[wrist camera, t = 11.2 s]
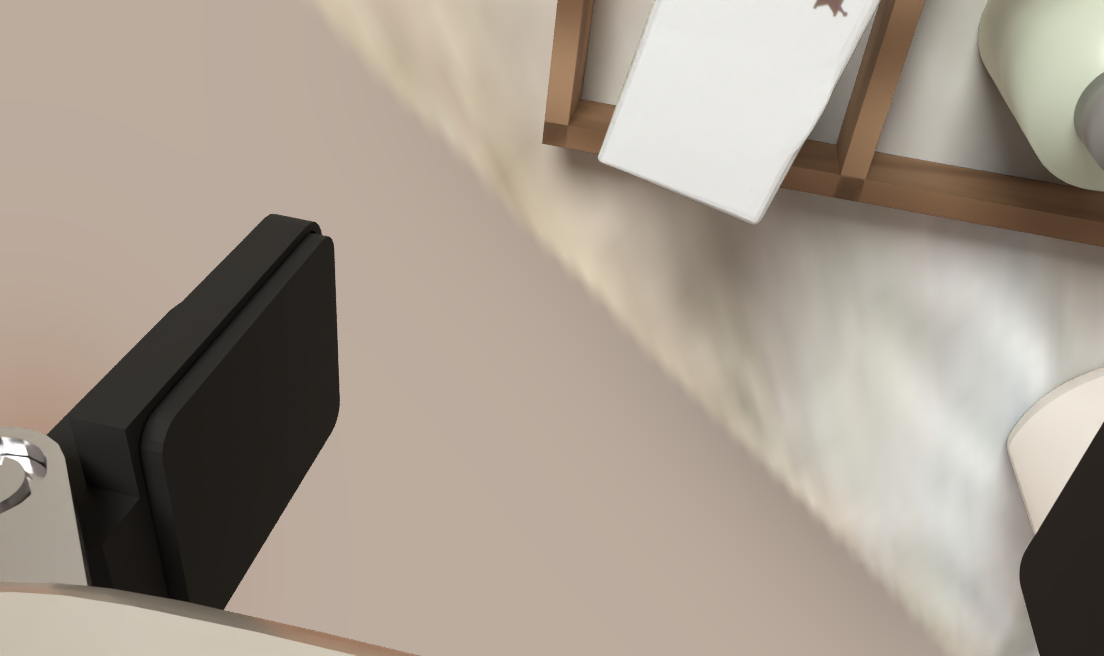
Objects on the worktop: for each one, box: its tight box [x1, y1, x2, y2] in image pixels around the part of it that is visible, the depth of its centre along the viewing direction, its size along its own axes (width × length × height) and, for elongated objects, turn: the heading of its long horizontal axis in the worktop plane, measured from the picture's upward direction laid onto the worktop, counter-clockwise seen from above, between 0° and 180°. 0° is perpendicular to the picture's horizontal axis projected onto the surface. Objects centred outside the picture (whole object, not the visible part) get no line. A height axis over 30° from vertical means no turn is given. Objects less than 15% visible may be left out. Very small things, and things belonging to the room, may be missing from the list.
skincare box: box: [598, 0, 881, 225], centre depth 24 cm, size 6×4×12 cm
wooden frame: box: [542, 0, 1104, 247], centre depth 28 cm, size 12×20×2 cm, turn 83°
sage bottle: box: [978, 0, 1104, 191], centre depth 25 cm, size 4×4×9 cm
